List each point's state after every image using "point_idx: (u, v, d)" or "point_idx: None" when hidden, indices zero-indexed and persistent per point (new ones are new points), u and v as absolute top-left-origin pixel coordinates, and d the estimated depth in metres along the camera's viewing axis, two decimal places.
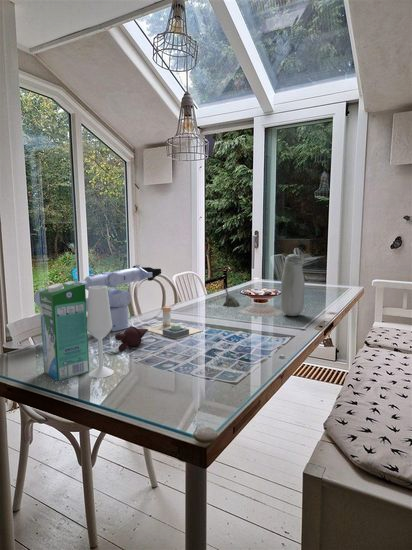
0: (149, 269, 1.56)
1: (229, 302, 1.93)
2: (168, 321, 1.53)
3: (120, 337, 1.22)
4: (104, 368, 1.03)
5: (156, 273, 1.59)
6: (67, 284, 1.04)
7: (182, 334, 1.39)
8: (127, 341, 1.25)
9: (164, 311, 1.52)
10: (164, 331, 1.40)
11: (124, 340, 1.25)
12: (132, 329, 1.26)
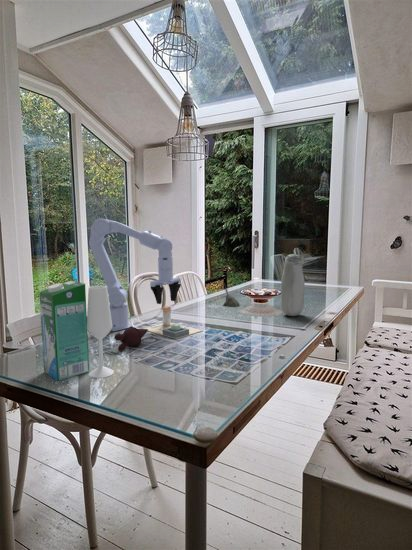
0: (159, 287, 1.47)
1: (229, 302, 1.93)
2: (168, 321, 1.53)
3: (120, 337, 1.22)
4: (104, 368, 1.03)
5: (157, 296, 1.50)
6: (67, 284, 1.04)
7: (182, 334, 1.39)
8: (127, 341, 1.24)
9: (164, 311, 1.52)
10: (164, 331, 1.40)
11: (124, 340, 1.25)
12: (132, 329, 1.26)
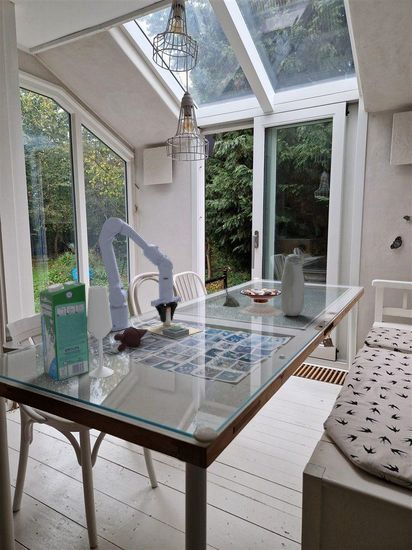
0: (163, 306, 1.50)
1: (229, 302, 1.93)
2: (168, 321, 1.53)
3: (119, 337, 1.22)
4: (104, 368, 1.03)
5: (161, 315, 1.52)
6: (67, 284, 1.04)
7: (182, 334, 1.39)
8: (126, 341, 1.24)
9: None
10: (164, 331, 1.40)
11: (123, 340, 1.25)
12: (131, 329, 1.26)
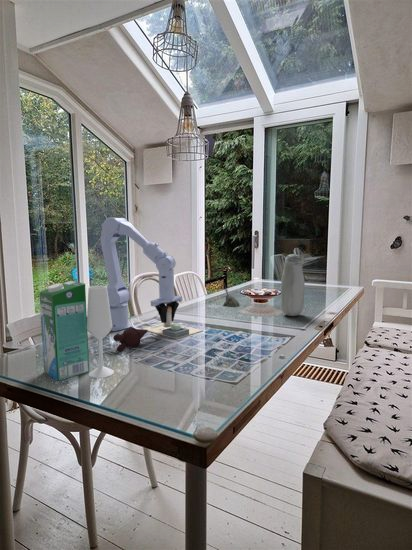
0: (164, 306, 1.43)
1: (229, 302, 1.93)
2: (169, 322, 1.46)
3: (118, 338, 1.22)
4: (104, 368, 1.03)
5: (161, 315, 1.45)
6: (67, 284, 1.04)
7: (182, 334, 1.39)
8: (126, 342, 1.24)
9: None
10: (164, 331, 1.40)
11: (123, 341, 1.24)
12: (131, 330, 1.25)
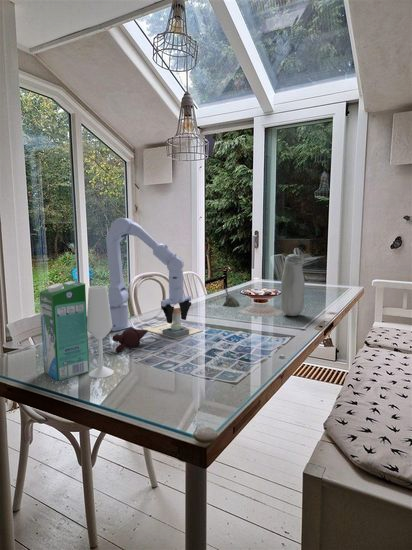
0: (170, 307, 1.45)
1: (229, 302, 1.93)
2: (178, 323, 1.49)
3: (118, 338, 1.21)
4: (104, 368, 1.03)
5: (167, 316, 1.48)
6: (67, 284, 1.04)
7: (182, 334, 1.39)
8: (125, 342, 1.23)
9: (174, 313, 1.49)
10: (164, 331, 1.40)
11: (122, 341, 1.24)
12: (130, 330, 1.25)
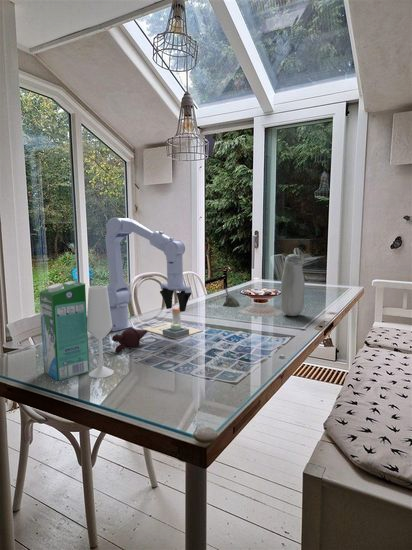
0: (188, 292, 1.38)
1: (229, 302, 1.93)
2: (178, 323, 1.49)
3: (117, 338, 1.21)
4: (104, 368, 1.03)
5: (182, 304, 1.37)
6: (67, 284, 1.04)
7: (182, 334, 1.39)
8: (125, 342, 1.23)
9: (174, 312, 1.49)
10: (164, 331, 1.40)
11: (122, 341, 1.24)
12: (130, 330, 1.25)
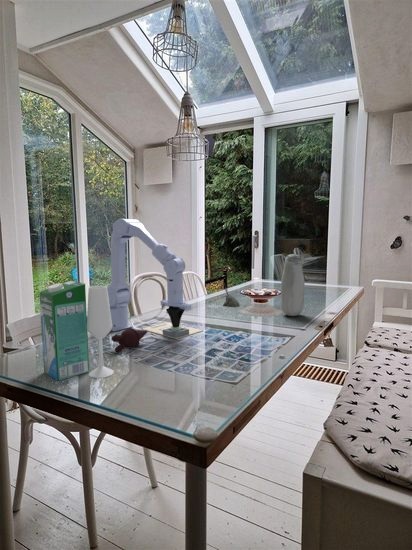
0: (182, 308, 1.40)
1: (229, 302, 1.93)
2: None
3: (117, 338, 1.21)
4: (104, 368, 1.03)
5: (176, 320, 1.40)
6: (67, 284, 1.04)
7: (182, 334, 1.39)
8: (124, 343, 1.23)
9: None
10: (164, 331, 1.40)
11: (121, 342, 1.23)
12: (130, 331, 1.24)
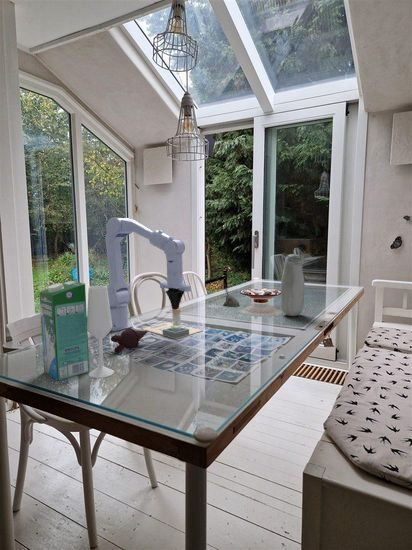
0: (181, 290, 1.40)
1: (229, 302, 1.93)
2: (178, 323, 1.49)
3: (116, 339, 1.21)
4: (104, 368, 1.03)
5: (175, 302, 1.39)
6: (67, 284, 1.04)
7: (182, 334, 1.39)
8: (124, 343, 1.23)
9: (174, 313, 1.49)
10: (164, 331, 1.40)
11: (121, 342, 1.23)
12: (129, 331, 1.24)
